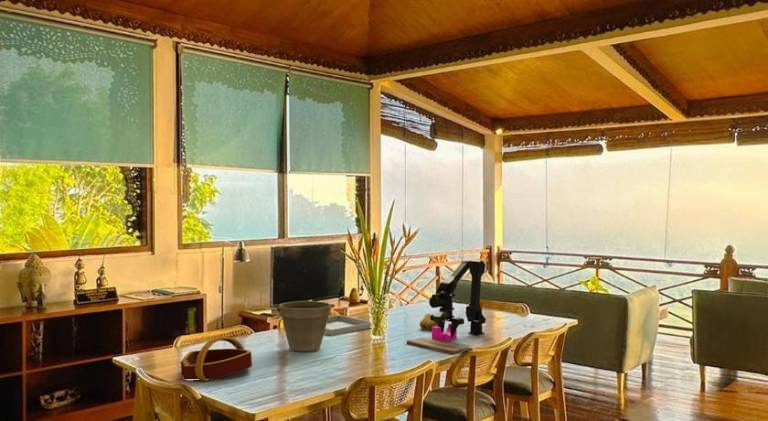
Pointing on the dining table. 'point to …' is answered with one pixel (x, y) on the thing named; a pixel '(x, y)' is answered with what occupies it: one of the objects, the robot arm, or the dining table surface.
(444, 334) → the toy block
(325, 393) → the dining table surface
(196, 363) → the decorative basket
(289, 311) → the plant pot
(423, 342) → the walnut board
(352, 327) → the slate tray rim
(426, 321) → the bread roll
